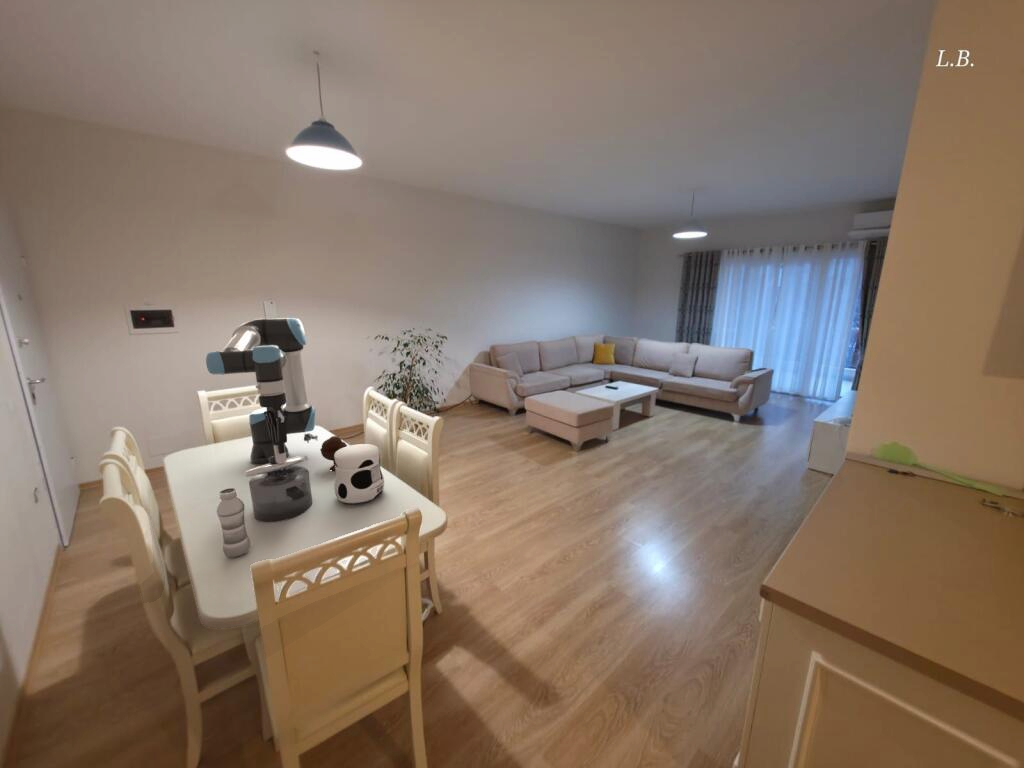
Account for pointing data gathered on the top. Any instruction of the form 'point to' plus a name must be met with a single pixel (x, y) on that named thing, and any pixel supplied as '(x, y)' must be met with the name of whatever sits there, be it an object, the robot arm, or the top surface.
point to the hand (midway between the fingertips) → (281, 461)
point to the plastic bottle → (232, 524)
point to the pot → (281, 494)
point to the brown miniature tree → (332, 448)
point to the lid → (275, 465)
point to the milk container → (358, 474)
